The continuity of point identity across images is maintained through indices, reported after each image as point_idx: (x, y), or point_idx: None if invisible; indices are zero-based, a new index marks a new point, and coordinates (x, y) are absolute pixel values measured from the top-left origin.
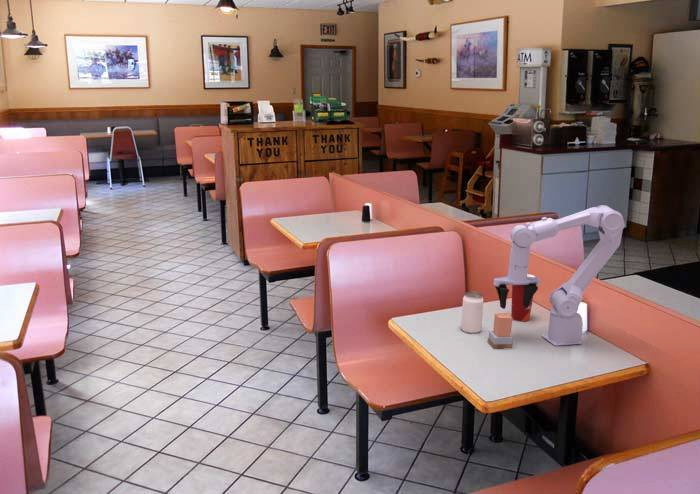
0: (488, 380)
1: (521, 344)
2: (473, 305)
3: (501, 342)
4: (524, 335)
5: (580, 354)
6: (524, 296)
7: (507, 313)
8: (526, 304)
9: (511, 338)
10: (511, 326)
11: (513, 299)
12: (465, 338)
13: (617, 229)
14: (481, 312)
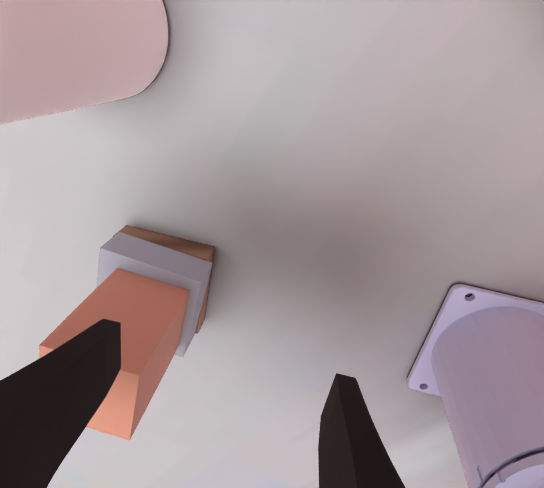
0: None
1: (274, 307)
2: None
3: None
4: (374, 231)
5: (436, 460)
6: (344, 468)
7: (136, 379)
8: (319, 447)
9: (178, 352)
10: (154, 391)
11: None
12: (32, 138)
13: None
14: (57, 109)
